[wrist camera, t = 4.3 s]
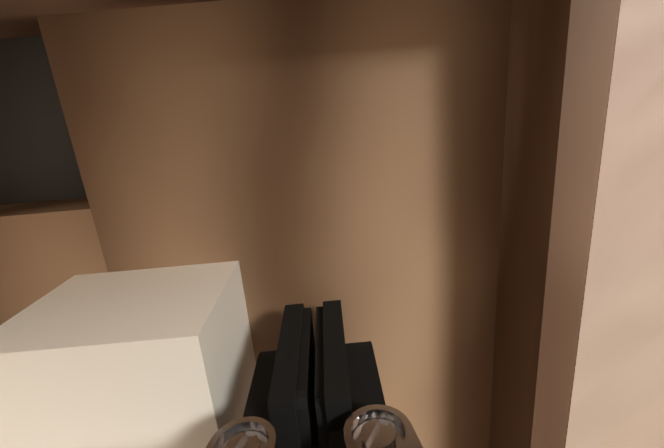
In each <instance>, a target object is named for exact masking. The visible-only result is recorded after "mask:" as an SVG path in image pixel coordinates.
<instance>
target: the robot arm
mask: <svg viewBox="0 0 664 448" xmlns="http://www.w3.org/2000/svg"><path fill="white" fill-rule="evenodd" d="M206 448H423V447H422V444H421V442H420V440H419V438H418V436H417V434H416V432H415V430H414V428H413V426H412V424H411V422H410V421H409V419H408V418H407V417H406V415H405V414H403V413H402V412H401V411H399V410H398V409H396V408H393V407H391V406H388V405H386V404H385V400H384V395H383V391H382V386H381V382H380V377H379V373H378V368H377V364H376V359H375V355H374V350H373V346H372V342H371V341H367V342H356V343H346V344H345V336H344V326H343V317H342V308H341V300H333V301H323V306H320V307H316V338H315V337H314V328H313V320H312V312H311V307H310V308H304V304H303V303H301V304H291V305H285V308H284V313H283V319H282V324H281V330H280V335H279V341H278V347H277V350H273V351H262V352H260V353H259V355H258V358H257V362H256V366H255V370H254V374H253V378H252V382H251V386H250V390H249V394H248V398H247V402H246V406H245V410H244V414H243V417H242V418H239V419H236V420H233V421H231V422H229V423H227V424H226V425H224V426H222V427H221V428H220V429H219V430H218V431H217V432H216V433H215V434H214V435H213V437H212V438H211V440H210V441H209V442H208V444H207V446H206Z"/></svg>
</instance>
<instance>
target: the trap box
mask: <svg viewBox="0 0 664 448" xmlns="http://www.w3.org/2000/svg"><path fill="white" fill-rule="evenodd" d="M620 3H621V0H0V325H1V324H3V323H4V322H6V321H7V320H9V319H10V318H12V317H13V316H15V315H16V314H18V313H19V312H21V311H22V310H24V309H25V308H27V307H28V306H30V305H31V304H33V303H34V302H36V301H37V300H39V299H40V298H42V297H43V296H45V295H46V294H48V293H49V292H51V291H52V290H54V289H55V288H57V287H58V286H60V285H61V284H63V283H64V282H65V281H67V280H68V279H70V278H71V277H73V276H74V275H82V274H94V273H105V272H116V271H128V270H139V269H150V268H161V267H173V266H184V265H195V264H207V263H218V262H229V261H239V265H240V271H241V277H242V283H243V289H244V295H245V301H246V307H247V313H248V319H249V325H250V331H251V337H252V343H253V349H254V355H255V361H256V362H257V358H258V355H259V353H260V352H262V351H273V350H277V347H278V341H279V335H280V330H281V324H282V319H283V313H284V308H285V305H291V304H301V303H303V304H304V308H310V307H311V312H312V320H313V328H314V337H315V338H316V307H320V306H323V301H333V300H341V308H342V317H343V326H344V336H345V344H346V343H356V342H367V341H371V342H372V346H373V350H374V355H375V359H376V364H377V368H378V373H379V377H380V382H381V386H382V391H383V395H384V400H385V404H386V405H388V406H391V407H393V408H396V409H398V410H399V411H401V412H402V413H403V414H405V415H406V417H407V418H408V419H409V421H410V422H411V424H412V426H413V428H414V430H415V432H416V434H417V436H418V438H419V440H420V442H421V444H422V447H423V448H565V444H566V436H567V428H568V420H569V412H570V404H571V396H572V388H573V380H574V372H575V364H576V356H577V348H578V340H579V332H580V324H581V316H582V308H583V300H584V292H585V284H586V276H587V268H588V260H589V252H590V244H591V236H592V228H593V220H594V212H595V204H596V196H597V188H598V180H599V172H600V164H601V156H602V148H603V140H604V132H605V124H606V116H607V108H608V100H609V92H610V84H611V75H612V67H613V59H614V51H615V43H616V35H617V27H618V19H619V11H620Z"/></svg>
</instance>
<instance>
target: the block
mask: <svg viewBox="0 0 664 448" xmlns="http://www.w3.org/2000/svg"><path fill="white" fill-rule="evenodd" d="M255 366H256V361H255V355H254V349H253V343H252V337H251V331H250V325H249V319H248V313H247V307H246V301H245V295H244V289H243V283H242V277H241V271H240V265H239V261H229V262H218V263H207V264H195V265H184V266H173V267H161V268H150V269H139V270H128V271H116V272H105V273H94V274H82V275H74V276H73V277H71V278H70V279H68V280H67V281H65V282H64V283H63V284H61V285H60V286H58V287H57V288H55V289H54V290H52V291H51V292H49V293H48V294H46V295H45V296H43V297H42V298H40V299H39V300H37V301H36V302H34V303H33V304H31V305H30V306H28V307H27V308H25V309H24V310H22V311H21V312H19V313H18V314H16V315H15V316H13V317H12V318H10V319H9V320H7V321H6V322H4V323H3V324H1V325H0V448H206V446H207V444H208V442H209V441H210V440H211V438H212V437H213V435H214V434H215V433H216V432H217V431H218V430H219V429H220V428H221V427H222V426H224V425H226V424H227V423H229V422H231V421H233V420H236V419H239V418H242V417H243V414H244V410H245V406H246V402H247V398H248V394H249V390H250V386H251V382H252V378H253V374H254V370H255Z"/></svg>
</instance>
